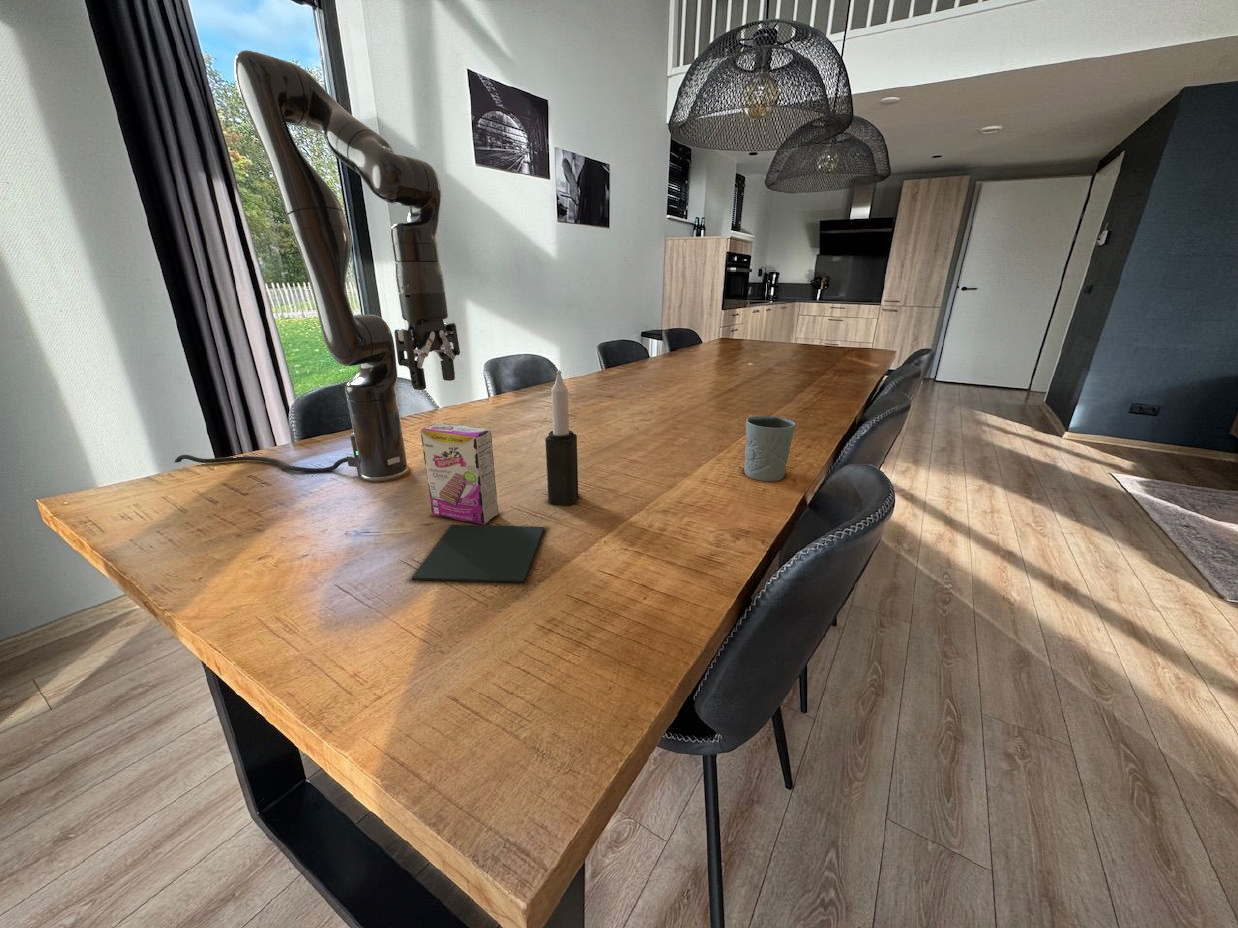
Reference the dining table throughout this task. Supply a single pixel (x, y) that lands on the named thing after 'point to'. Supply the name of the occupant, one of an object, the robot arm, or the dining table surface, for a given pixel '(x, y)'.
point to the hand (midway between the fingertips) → (435, 384)
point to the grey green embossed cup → (767, 447)
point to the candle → (561, 450)
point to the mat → (482, 554)
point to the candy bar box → (460, 472)
